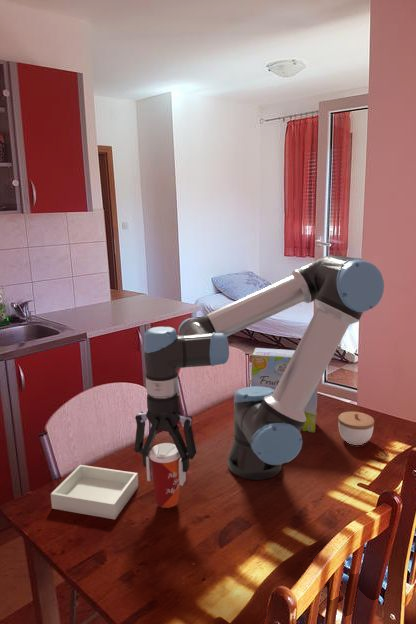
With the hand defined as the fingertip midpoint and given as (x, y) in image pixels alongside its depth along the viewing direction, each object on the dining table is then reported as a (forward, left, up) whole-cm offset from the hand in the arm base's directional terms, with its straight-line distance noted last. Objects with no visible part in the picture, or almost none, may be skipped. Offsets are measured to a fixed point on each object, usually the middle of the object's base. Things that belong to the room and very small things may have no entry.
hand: (166, 480), depth 117 cm
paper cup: (0, 0, -6) cm, 6 cm away
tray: (+19, +1, -7) cm, 20 cm away
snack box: (-23, -52, -7) cm, 57 cm away
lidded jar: (-46, -46, -7) cm, 65 cm away
